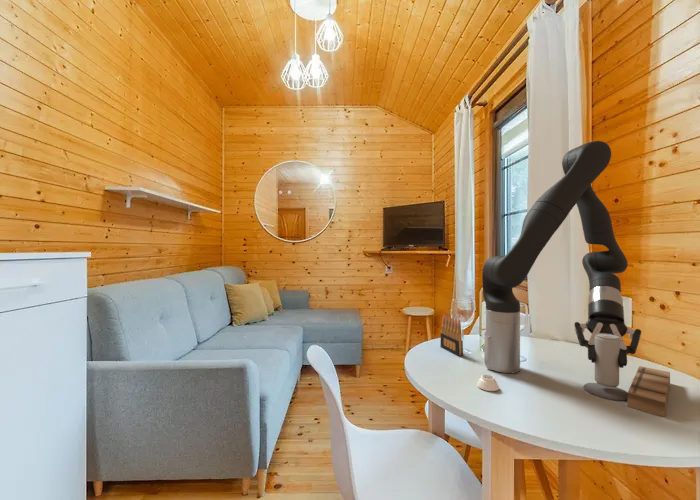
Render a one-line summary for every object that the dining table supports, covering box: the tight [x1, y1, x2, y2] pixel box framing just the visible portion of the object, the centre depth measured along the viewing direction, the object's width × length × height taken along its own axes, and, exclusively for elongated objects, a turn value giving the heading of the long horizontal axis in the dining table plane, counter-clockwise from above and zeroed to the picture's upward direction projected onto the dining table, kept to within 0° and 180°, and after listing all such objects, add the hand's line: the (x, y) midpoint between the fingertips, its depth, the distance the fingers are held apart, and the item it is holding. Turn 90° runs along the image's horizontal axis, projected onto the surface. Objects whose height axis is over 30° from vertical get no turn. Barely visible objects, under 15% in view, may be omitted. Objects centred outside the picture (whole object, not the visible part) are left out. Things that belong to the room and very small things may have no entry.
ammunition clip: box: [439, 314, 464, 357], centre depth 110 cm, size 11×2×12 cm, turn 17°
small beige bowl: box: [476, 374, 500, 392], centre depth 81 cm, size 5×3×5 cm
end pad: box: [583, 382, 628, 402], centre depth 79 cm, size 9×9×1 cm
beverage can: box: [594, 333, 620, 388], centre depth 79 cm, size 5×5×12 cm
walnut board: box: [626, 365, 671, 417], centre depth 78 cm, size 24×6×3 cm, turn 133°
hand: (607, 363), depth 78 cm, fingers closed on beverage can, 4 cm apart
